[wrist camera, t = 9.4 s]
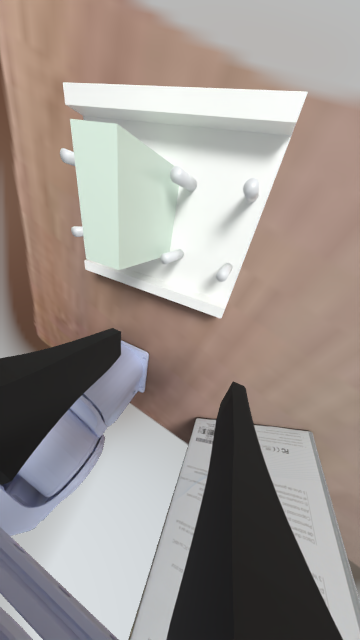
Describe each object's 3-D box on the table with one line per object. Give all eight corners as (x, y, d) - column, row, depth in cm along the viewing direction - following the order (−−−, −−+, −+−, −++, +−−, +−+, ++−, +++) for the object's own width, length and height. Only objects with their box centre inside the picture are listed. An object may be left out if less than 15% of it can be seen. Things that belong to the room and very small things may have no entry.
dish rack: (225, 307, 17) (217, 326, 14) (102, 265, 20) (73, 272, 17) (297, 119, 10) (316, 67, 7) (92, 104, 13) (39, 65, 10)
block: (169, 254, 16) (119, 270, 10) (146, 248, 16) (86, 259, 11) (181, 171, 12) (117, 123, 7) (152, 166, 13) (70, 118, 7)
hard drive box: (210, 445, 30) (153, 707, 13) (195, 415, 27) (104, 690, 11) (321, 468, 22) (498, 1140, 6) (314, 429, 20) (582, 1382, 3)
